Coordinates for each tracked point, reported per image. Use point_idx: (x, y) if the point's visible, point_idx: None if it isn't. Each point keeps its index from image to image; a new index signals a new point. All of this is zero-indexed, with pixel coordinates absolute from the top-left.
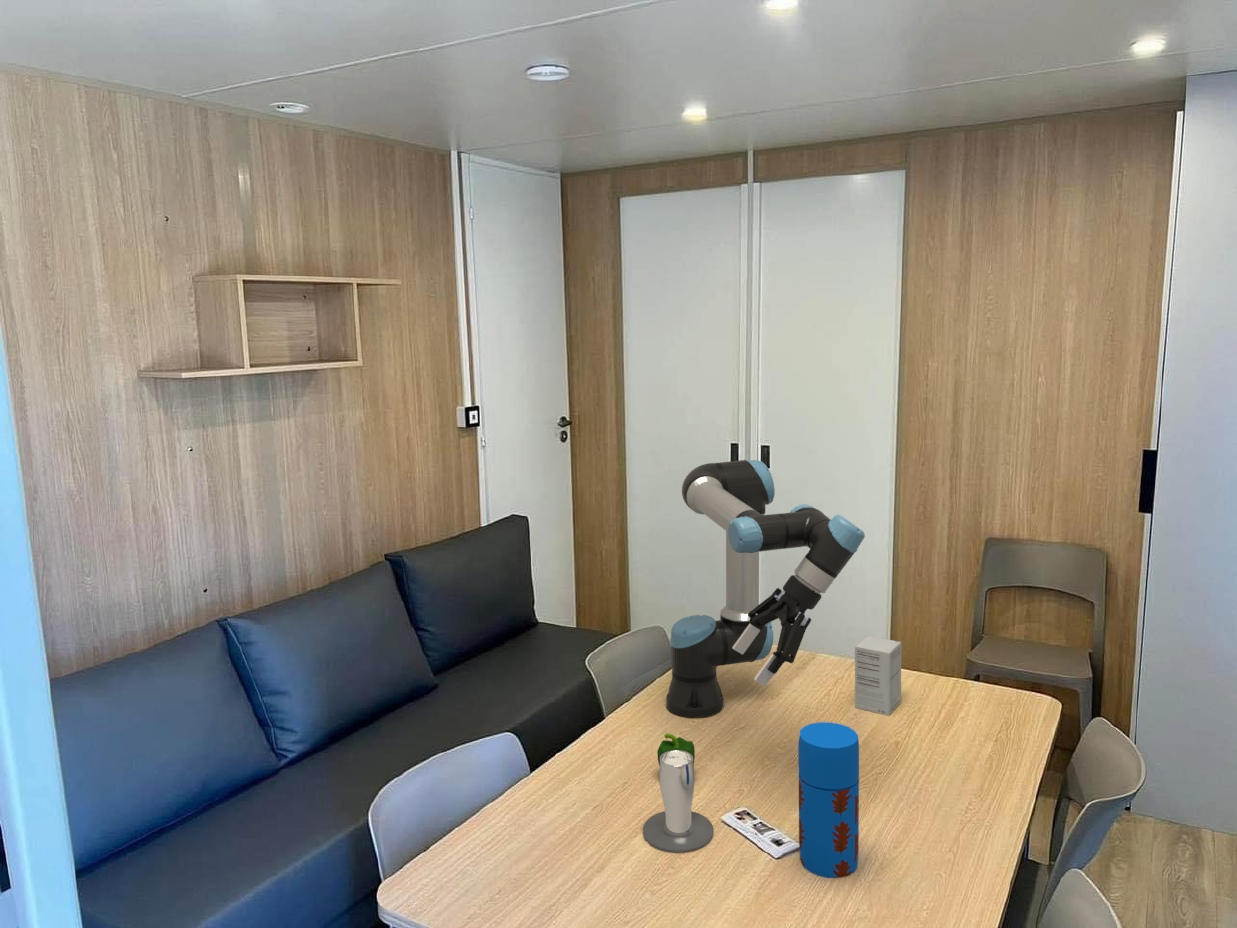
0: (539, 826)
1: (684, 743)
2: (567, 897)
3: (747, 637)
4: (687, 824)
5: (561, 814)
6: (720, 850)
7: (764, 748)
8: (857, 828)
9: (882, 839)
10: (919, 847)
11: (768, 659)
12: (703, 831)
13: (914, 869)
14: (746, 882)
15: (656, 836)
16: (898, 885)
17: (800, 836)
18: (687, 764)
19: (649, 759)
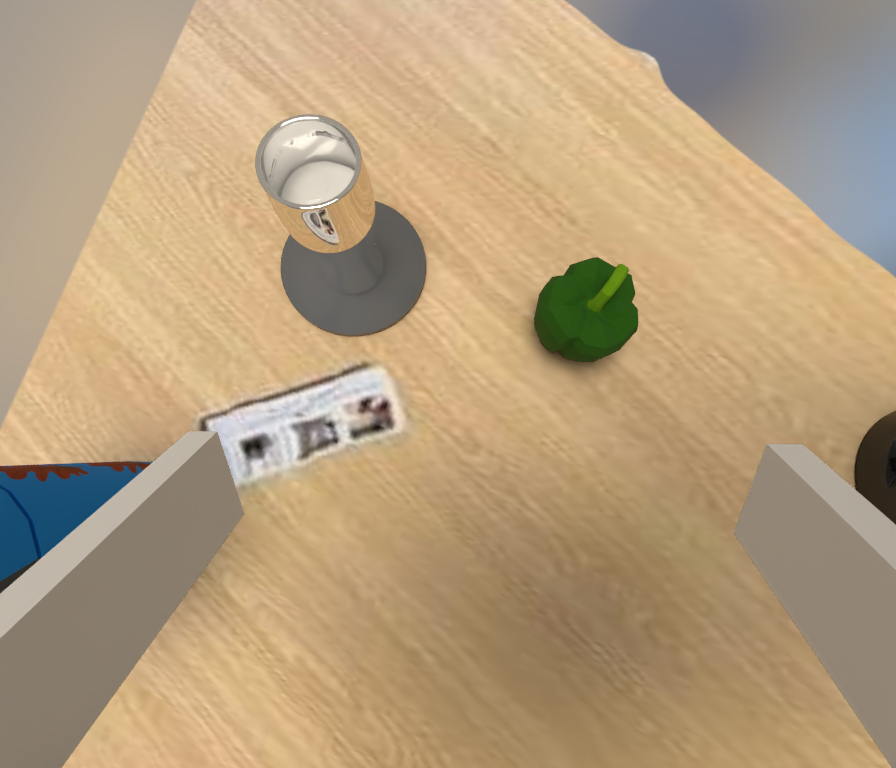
0: (455, 42)
1: (597, 324)
2: (231, 48)
3: (889, 648)
4: (321, 266)
5: (484, 83)
6: (268, 325)
7: (654, 581)
8: None
9: (180, 681)
10: (120, 753)
11: (8, 618)
12: (326, 308)
13: None
14: (153, 337)
15: None
16: None
17: (126, 463)
18: (259, 180)
19: (660, 293)
